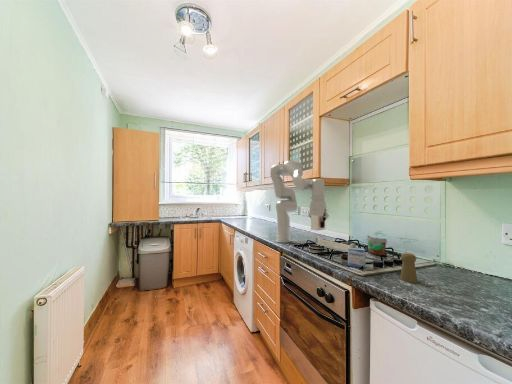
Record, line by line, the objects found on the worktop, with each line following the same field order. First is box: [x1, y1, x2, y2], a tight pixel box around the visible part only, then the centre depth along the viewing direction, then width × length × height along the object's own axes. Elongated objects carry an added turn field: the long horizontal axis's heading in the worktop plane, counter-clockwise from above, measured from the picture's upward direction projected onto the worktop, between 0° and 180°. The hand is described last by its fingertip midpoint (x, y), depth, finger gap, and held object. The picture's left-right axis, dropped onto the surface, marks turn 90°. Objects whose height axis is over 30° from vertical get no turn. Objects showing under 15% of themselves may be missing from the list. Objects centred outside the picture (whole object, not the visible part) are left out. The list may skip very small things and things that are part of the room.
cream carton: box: [310, 215, 326, 232], centre depth 142 cm, size 5×8×9 cm, turn 128°
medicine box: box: [347, 247, 366, 269], centre depth 112 cm, size 8×4×9 cm, turn 68°
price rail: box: [315, 235, 356, 253], centre depth 147 cm, size 30×2×6 cm, turn 30°
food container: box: [365, 235, 388, 257], centre depth 134 cm, size 12×6×10 cm, turn 25°
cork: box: [399, 252, 418, 284], centre depth 93 cm, size 6×6×11 cm
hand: (318, 226), depth 141 cm, fingers closed on cream carton, 5 cm apart
